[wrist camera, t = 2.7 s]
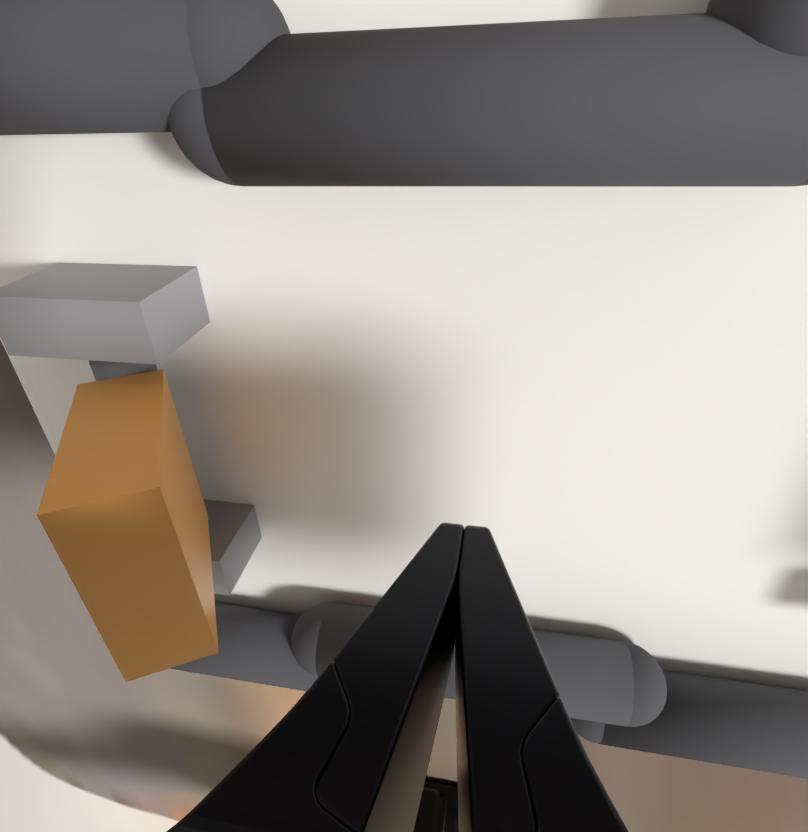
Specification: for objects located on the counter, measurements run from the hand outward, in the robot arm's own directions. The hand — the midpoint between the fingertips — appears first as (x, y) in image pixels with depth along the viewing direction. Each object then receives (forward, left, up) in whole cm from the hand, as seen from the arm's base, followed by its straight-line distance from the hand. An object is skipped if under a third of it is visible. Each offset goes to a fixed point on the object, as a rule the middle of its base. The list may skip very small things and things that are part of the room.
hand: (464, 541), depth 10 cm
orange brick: (0, +7, -2) cm, 8 cm away
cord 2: (-7, -1, -3) cm, 8 cm away
